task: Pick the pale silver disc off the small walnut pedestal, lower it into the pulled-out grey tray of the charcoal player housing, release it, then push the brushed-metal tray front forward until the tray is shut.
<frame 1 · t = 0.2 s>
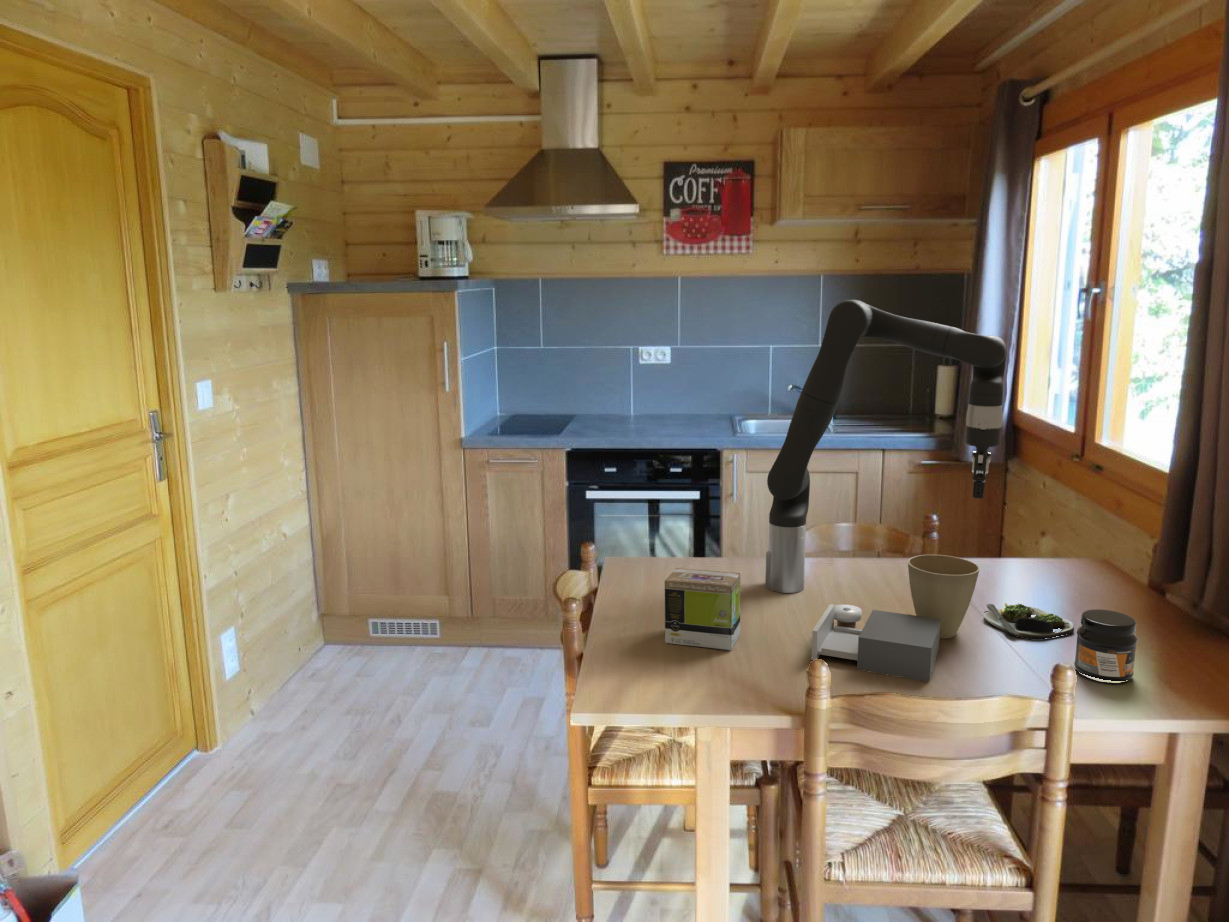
hand: (978, 493, 210), 29 cm above the table, fingers open, 8 cm apart
housing: (898, 659, 189), on the table
pedestal: (845, 631, 204), on the table
supplement container: (1102, 675, 181), on the table
plant pot: (938, 633, 204), on the table
salad plate: (1027, 628, 207), on the table
tea box: (702, 640, 201), on the table
tray: (853, 635, 192), point 4 cm above the table, slide at 8.0 cm
disc: (846, 617, 204), point 3 cm above the table, touching pedestal
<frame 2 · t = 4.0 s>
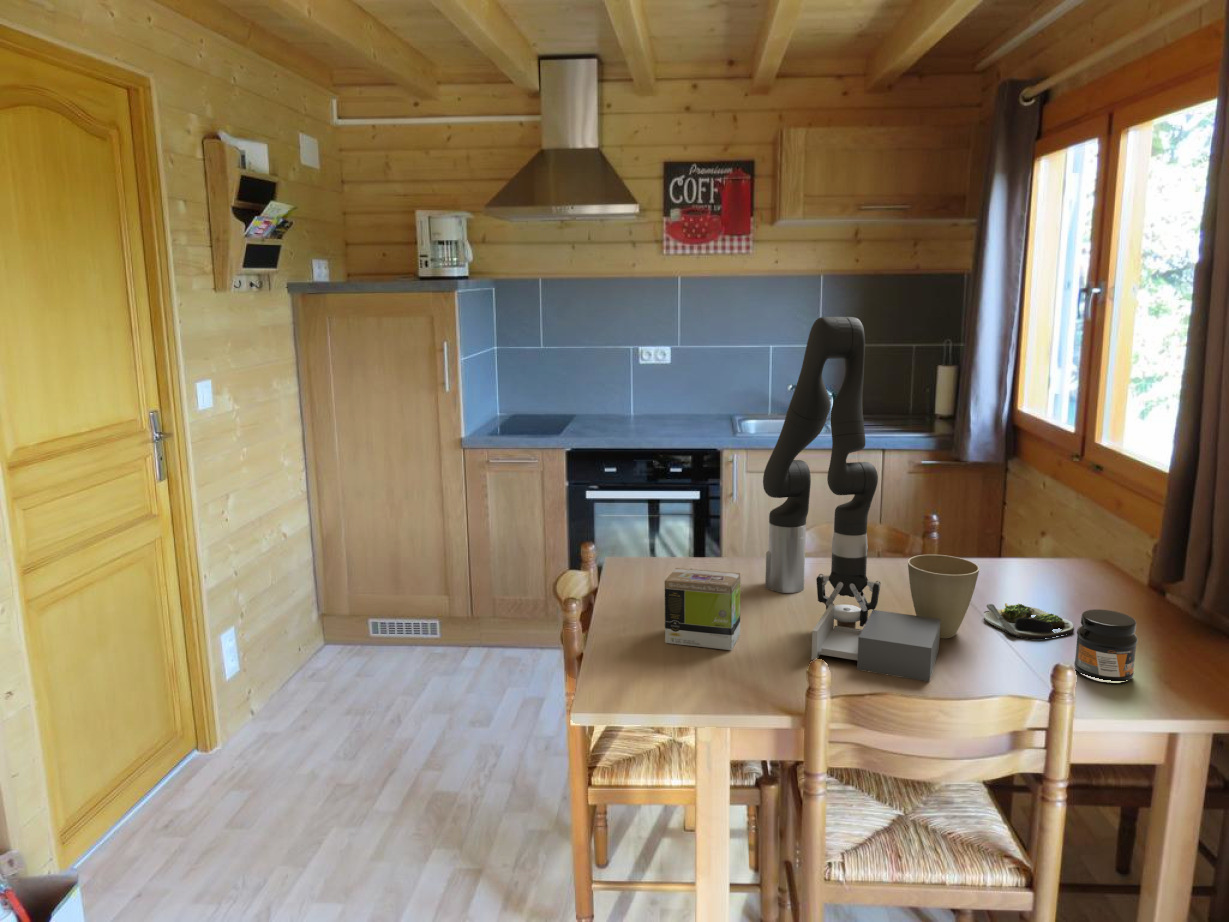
hand: (846, 622, 204), 2 cm above the table, fingers closed on disc, 6 cm apart
disc: (846, 617, 204), point 3 cm above the table, touching gripper, pedestal
everything else where it was.
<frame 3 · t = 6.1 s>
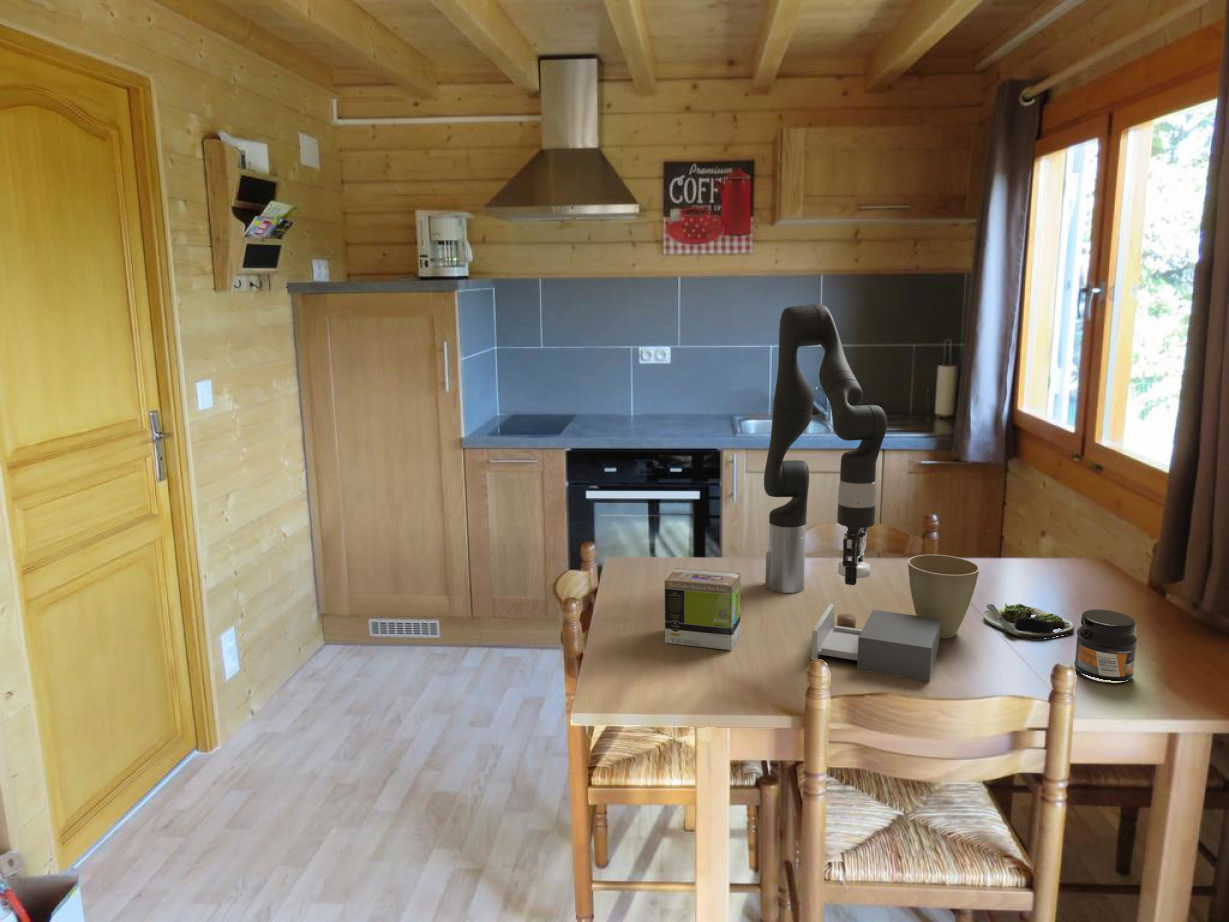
hand: (853, 579, 190), 16 cm above the table, fingers closed on disc, 6 cm apart
disc: (853, 573, 190), point 17 cm above the table, touching gripper
everything else where it was.
when the fingers open (2 cm above the table, at t = 8.2 s): disc drops 2 cm, resting on tray.
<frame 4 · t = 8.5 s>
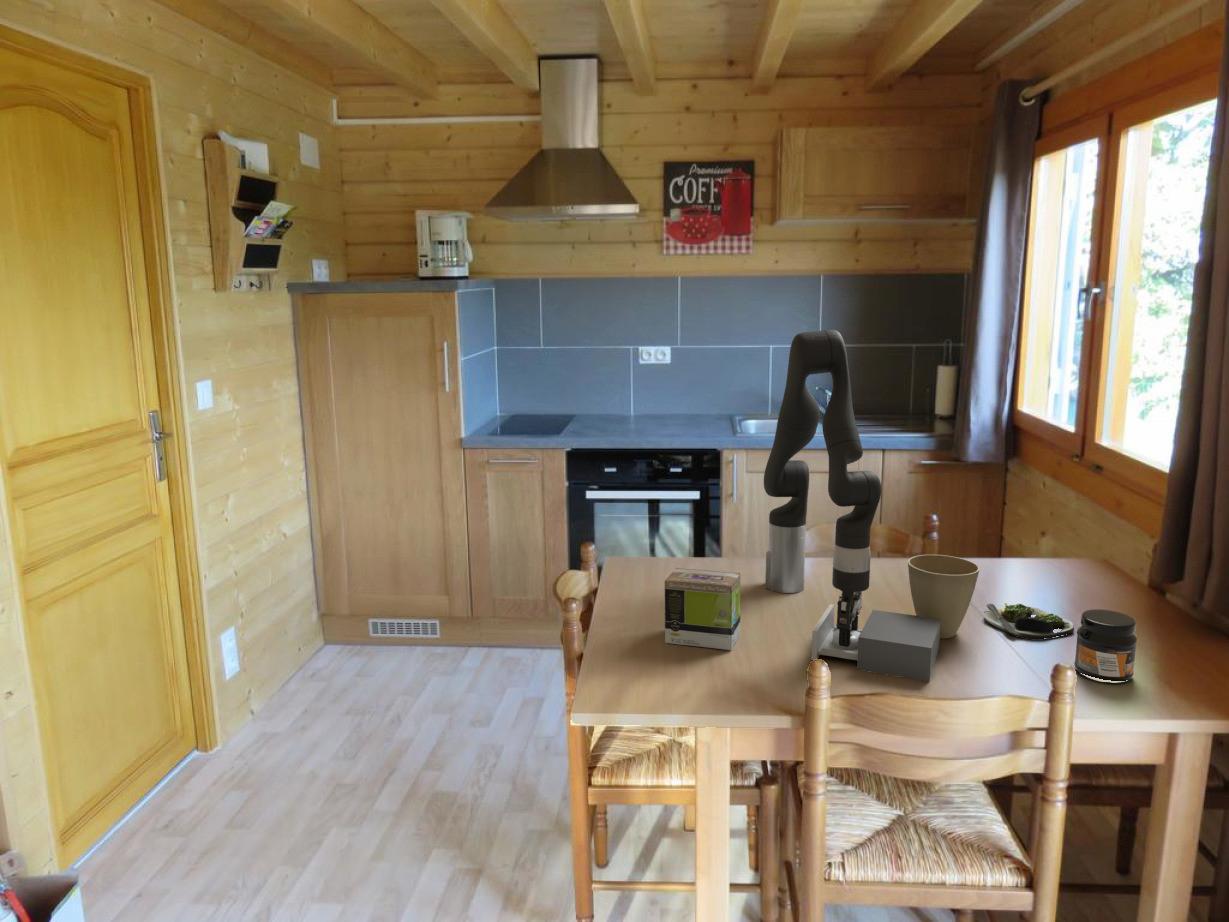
hand: (848, 638, 193), 3 cm above the table, fingers open, 8 cm apart
tray: (853, 635, 192), point 4 cm above the table, slide at 8.0 cm, touching disc
disc: (848, 643, 193), point 2 cm above the table, touching tray
everything else where it was.
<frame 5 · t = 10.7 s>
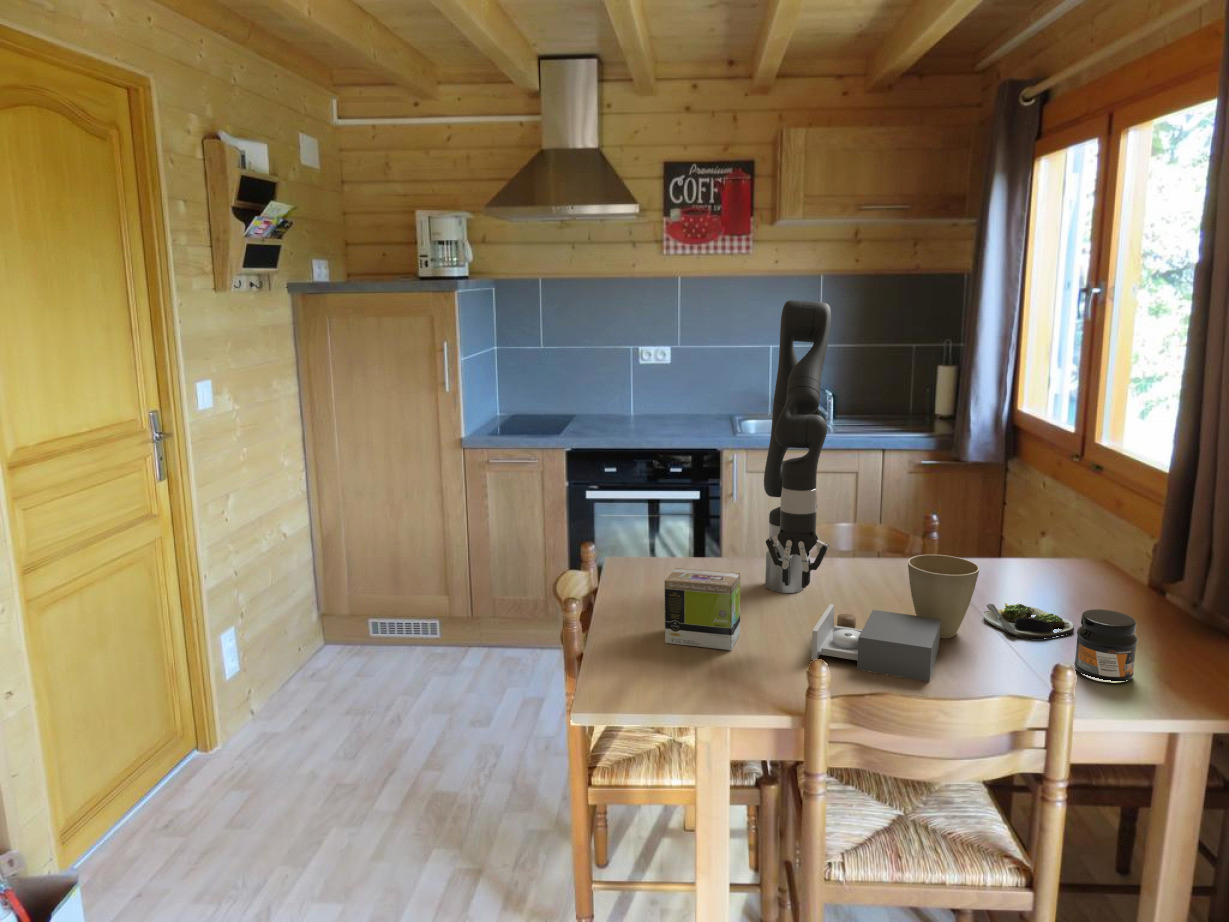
hand: (796, 585, 196), 13 cm above the table, fingers open, 3 cm apart
nothing on the table moved.
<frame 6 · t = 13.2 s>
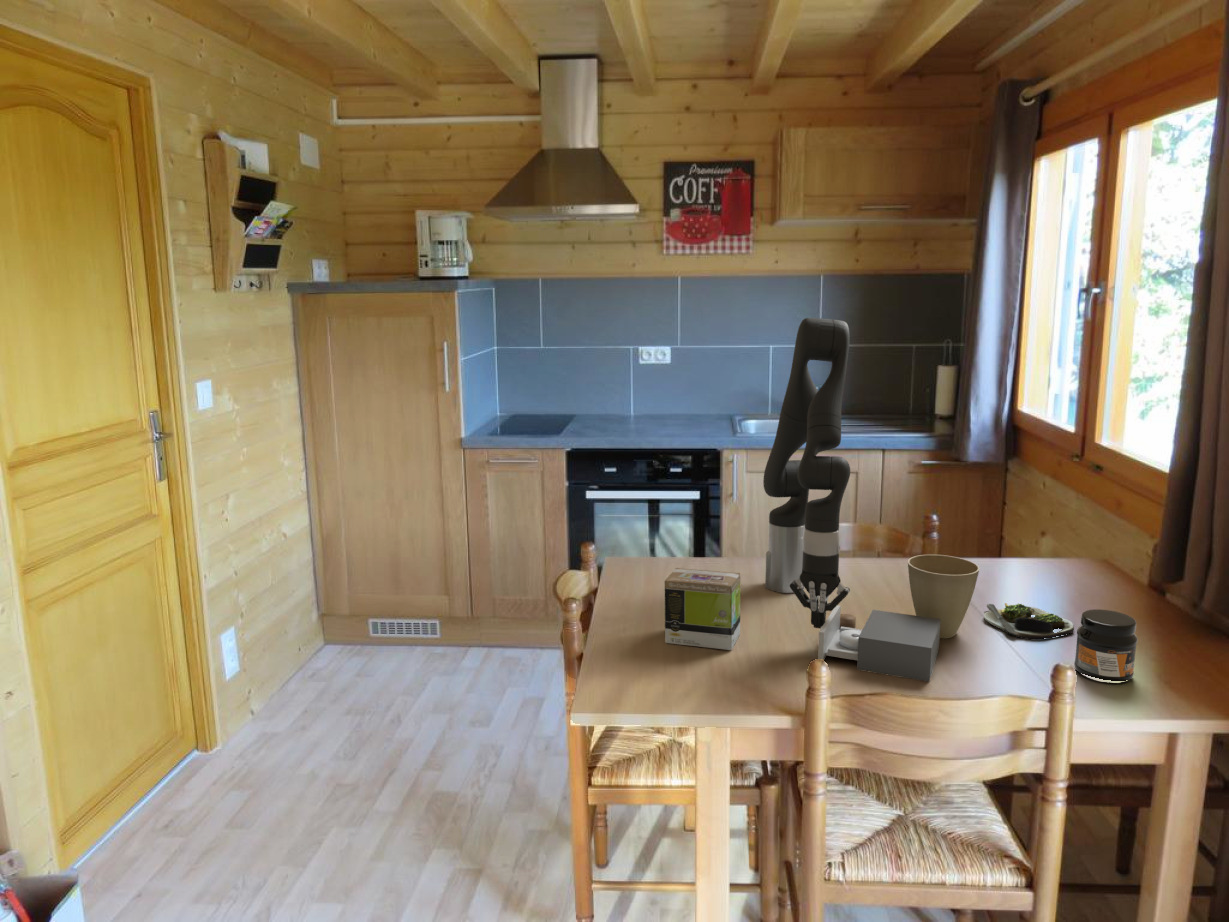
hand: (818, 626, 195), 5 cm above the table, fingers closed
tray: (860, 636, 192), point 4 cm above the table, slide at 6.6 cm, touching disc, gripper
disc: (854, 643, 193), point 2 cm above the table, touching tray
everything else where it was.
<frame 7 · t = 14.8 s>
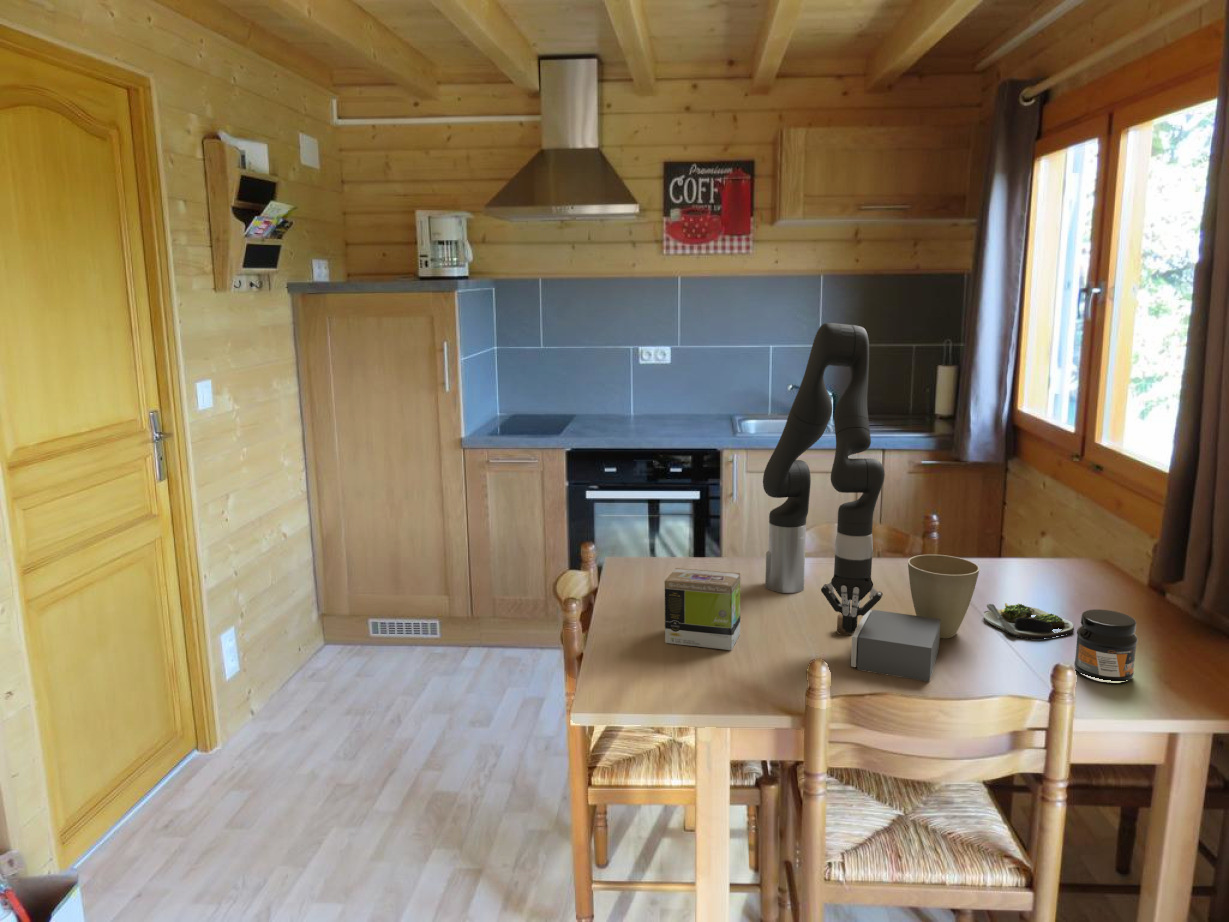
hand: (849, 631, 192), 5 cm above the table, fingers closed
tray: (892, 641, 189), point 4 cm above the table, slide at 0.0 cm, touching disc, gripper
disc: (887, 648, 190), point 2 cm above the table, touching tray
everything else where it was.
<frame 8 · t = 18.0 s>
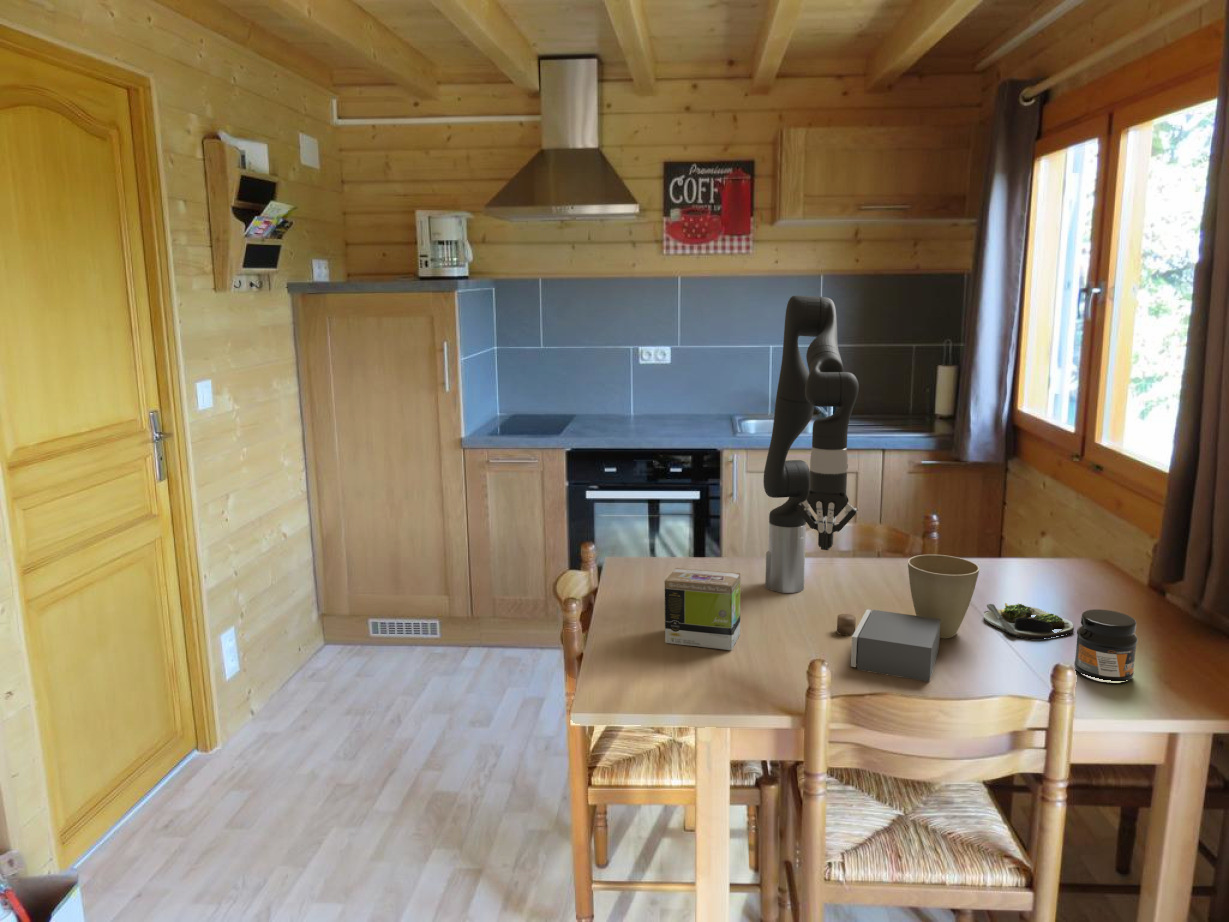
hand: (825, 549, 191), 22 cm above the table, fingers closed
tray: (892, 641, 189), point 4 cm above the table, slide at 0.0 cm, touching disc
everything else where it was.
at the end: tray slide at 0.0 cm; disc inside the target area on the housing (2.0 cm from its centre), point 2.0 cm above the housing's base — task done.
